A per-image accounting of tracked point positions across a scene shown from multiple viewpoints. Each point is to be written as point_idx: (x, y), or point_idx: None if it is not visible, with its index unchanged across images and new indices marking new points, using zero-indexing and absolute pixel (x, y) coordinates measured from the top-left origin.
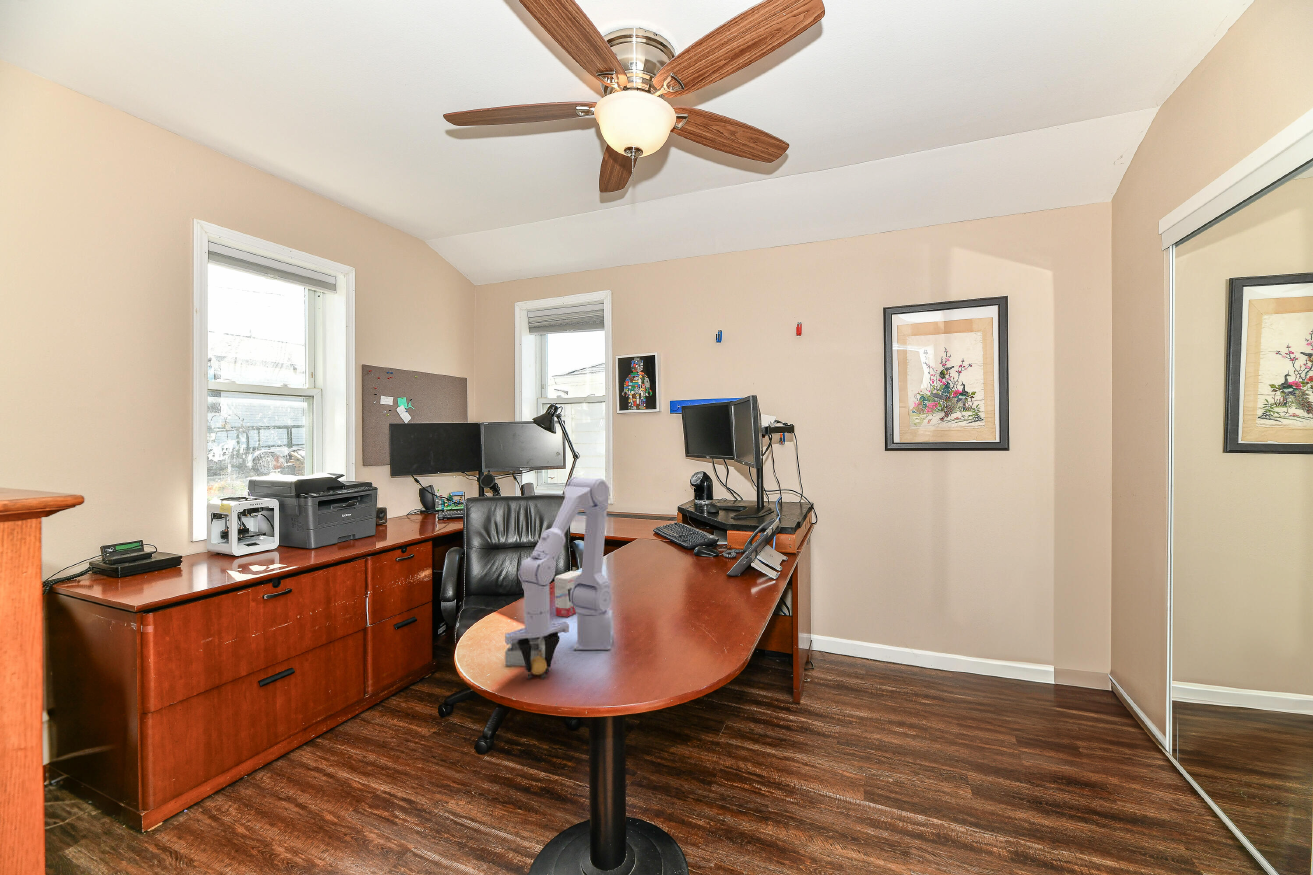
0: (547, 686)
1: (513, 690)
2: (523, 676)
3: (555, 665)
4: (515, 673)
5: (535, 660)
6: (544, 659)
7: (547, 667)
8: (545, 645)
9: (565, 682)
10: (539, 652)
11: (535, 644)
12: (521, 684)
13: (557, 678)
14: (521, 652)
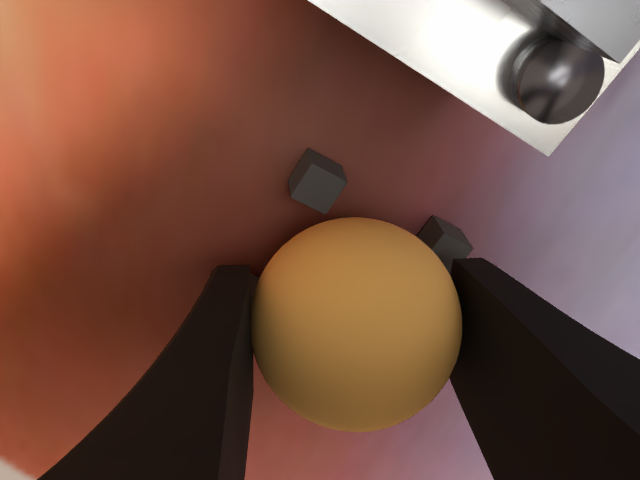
0: (333, 449)
1: (66, 416)
2: (189, 231)
3: (576, 151)
4: (109, 119)
5: (319, 416)
6: (436, 394)
7: (459, 248)
8: (582, 431)
9: (467, 445)
10: (500, 125)
11: (547, 7)
12: (145, 359)
13: (450, 381)
14: (120, 404)
